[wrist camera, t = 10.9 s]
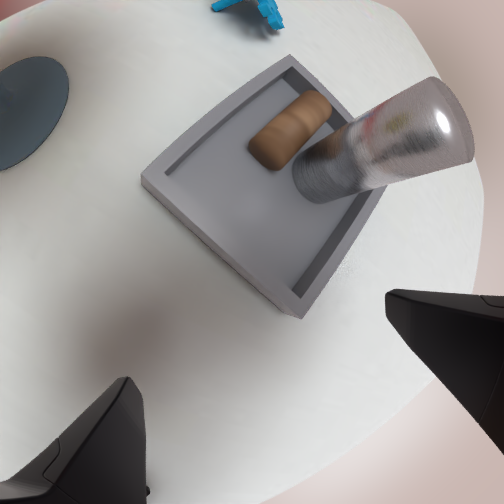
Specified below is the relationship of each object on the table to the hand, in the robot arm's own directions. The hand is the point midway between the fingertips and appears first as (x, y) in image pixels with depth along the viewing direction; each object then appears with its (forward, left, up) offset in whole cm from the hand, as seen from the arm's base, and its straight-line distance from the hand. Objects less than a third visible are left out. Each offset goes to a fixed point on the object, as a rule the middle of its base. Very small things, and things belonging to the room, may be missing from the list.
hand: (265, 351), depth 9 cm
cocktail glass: (0, +22, -12) cm, 25 cm away
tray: (+11, +1, -11) cm, 16 cm away
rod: (+14, +5, -10) cm, 18 cm away
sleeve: (+13, -1, -11) cm, 17 cm away
